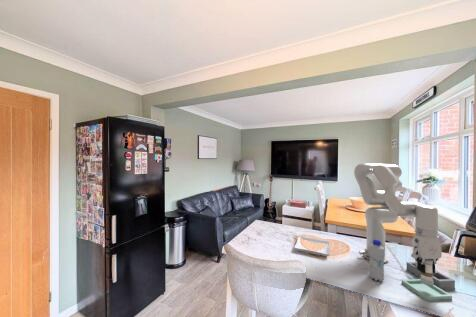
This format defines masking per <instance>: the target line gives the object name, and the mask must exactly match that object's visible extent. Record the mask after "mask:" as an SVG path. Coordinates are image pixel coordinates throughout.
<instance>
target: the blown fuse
mask: <svg viewBox="0 0 476 317" xmlns="http://www.w3.org/2000/svg"><path fill="white" fill-rule="evenodd" d="M420 260H421V258H420ZM424 264H425V273H422V272H421V277H419V279H420V281H421V282H422V283H423V284H426V285H429V286H433V285H434V282H433V270H432V265H433V260H432V259H425V261H424Z"/></svg>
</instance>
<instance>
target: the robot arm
mask: <svg viewBox="0 0 476 317" xmlns="http://www.w3.org/2000/svg"><path fill="white" fill-rule="evenodd" d="M402 172H403V171H402V169H401V167H400V166H399V165H396V164H394V163H393V164H391V163H377V162H375V163H372V162H370V163H368V162H365V163H359V164H357V165H355V167H354V173H353V174H354V178H355V180H356V182H357V185H358V186H359V190H360V193H361V197H362V199H363V203H364V204H365V205H368V206H370V207H368V208H367V209H366V210H365V211H364V216H365V221H366V222H365V223H366V248H364V250H359V251H358V253H359V255H363V257H364V258H365V259H367V260H369V261H370V254H369V248H370V245H371V244H373V240H379V241H380V242H381V246H382V247H383V248H384V252H385V253H386V229H385V227H384V226H383V224H393V223H396V222H397V221H398V219H399V218H415V221H414V222H415V223H414V224H415V230H414V234H413V239H412V240H413V241H412V253H411V255H410V257H411V258H413V259H414V261H415V260H416V261H417V269H418V270H419V271H421V272H422V273H425V264H424V261H425V259H432V260H433V265H432V270H433V273H435V270H436V265H437V262H438V261H439V259H441V258H442V254H443V253H442V244H441V240H440V236H439V235H438V233H439V232H438V231H439V229H438V228H439V227H438V226H439V225H438V224H439V221H438V220H439V217H438V216H439V211H438V208H436V207H435V206H432V205H427V204H423V203H421V202H417V201H400V200H399V198H398V197H397V196H396V194H395V192H397V191H398V190H400V189H401V188H402V187H403V183H402V182H401V180H400V179H399V178H400V177H401V176H402ZM370 177H375V178H376V179H377V180H378V182H379V183H380V184H381V186H382V188H384V190H377V189H376V185H375V183H374V181H373V180H372V179H371V178H370ZM371 206H372V207H371ZM373 206H374V207H373ZM375 206H376V207H375ZM420 258H421V260H420ZM386 263H389V258H388V257H387V256H386V255H385V258H384V264H386Z"/></svg>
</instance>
